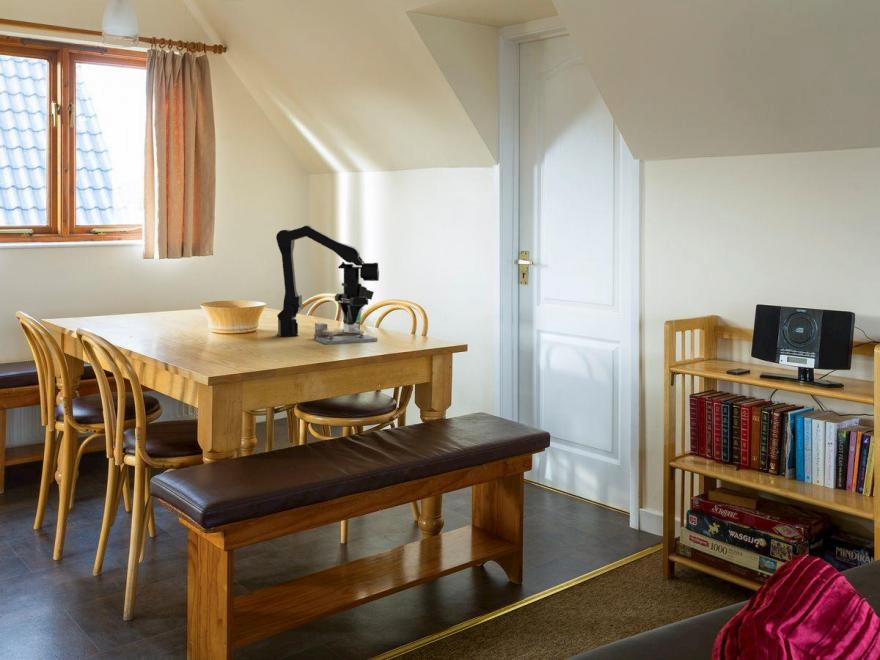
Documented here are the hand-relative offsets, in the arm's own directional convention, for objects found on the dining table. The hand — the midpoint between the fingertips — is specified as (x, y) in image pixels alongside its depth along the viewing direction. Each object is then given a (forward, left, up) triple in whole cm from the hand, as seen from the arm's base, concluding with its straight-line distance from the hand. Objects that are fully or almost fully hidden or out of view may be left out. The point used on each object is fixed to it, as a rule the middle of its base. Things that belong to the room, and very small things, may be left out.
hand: (351, 322), depth 341 cm
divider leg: (0, -4, -4) cm, 6 cm away
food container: (+9, +18, -6) cm, 21 cm away
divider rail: (-5, -4, -5) cm, 8 cm away
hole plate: (-6, -10, -6) cm, 13 cm away
